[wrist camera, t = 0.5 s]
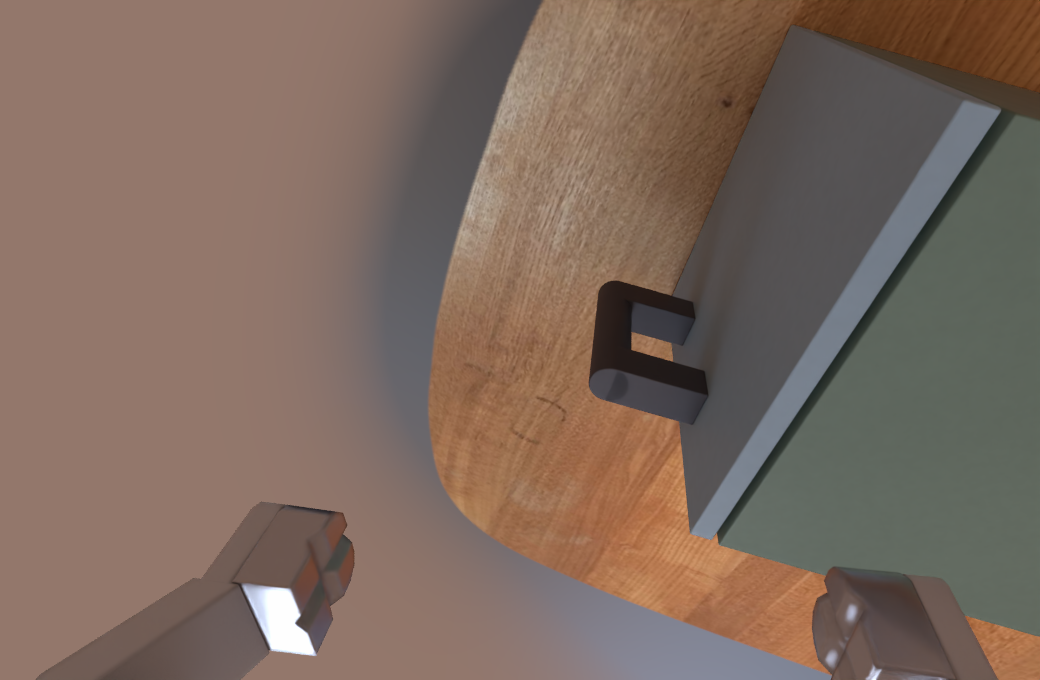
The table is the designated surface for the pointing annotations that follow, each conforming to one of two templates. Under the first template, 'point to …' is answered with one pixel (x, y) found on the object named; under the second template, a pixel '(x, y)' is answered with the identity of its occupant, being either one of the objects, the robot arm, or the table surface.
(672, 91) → the table surface
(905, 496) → the cupboard
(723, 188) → the cabinet door
